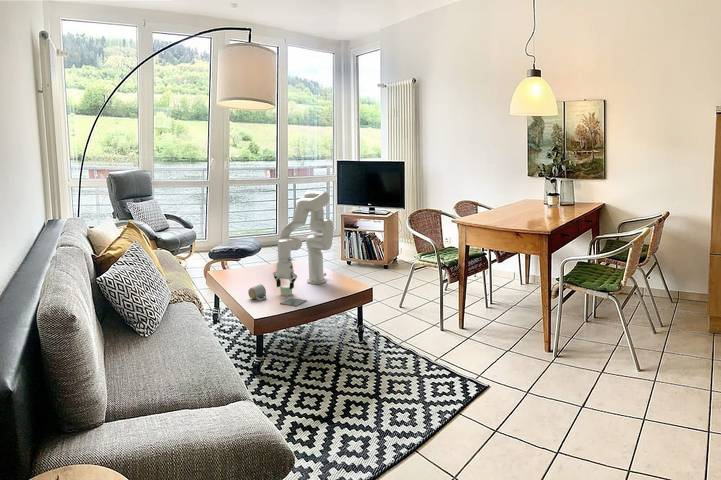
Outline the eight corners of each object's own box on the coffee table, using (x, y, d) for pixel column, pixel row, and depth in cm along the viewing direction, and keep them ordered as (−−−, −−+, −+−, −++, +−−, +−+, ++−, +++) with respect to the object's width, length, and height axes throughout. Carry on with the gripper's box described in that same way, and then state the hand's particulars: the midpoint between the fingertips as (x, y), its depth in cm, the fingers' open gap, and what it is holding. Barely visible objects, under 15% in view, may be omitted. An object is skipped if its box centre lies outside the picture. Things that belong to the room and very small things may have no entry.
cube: (285, 292, 291) (285, 285, 290) (292, 293, 289) (291, 286, 288) (280, 295, 287) (280, 287, 286) (287, 296, 285) (287, 288, 284)
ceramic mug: (247, 298, 281) (246, 286, 280) (258, 295, 287) (258, 283, 286) (258, 302, 274) (257, 289, 273) (269, 298, 280) (269, 286, 279)
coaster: (291, 298, 280) (291, 297, 280) (306, 300, 275) (306, 300, 275) (280, 303, 270) (280, 303, 270) (296, 306, 265) (296, 305, 265)
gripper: (300, 260, 283) (300, 287, 286) (276, 257, 291) (277, 284, 294) (292, 262, 276) (293, 290, 279) (269, 259, 284) (269, 287, 287)
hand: (285, 287), depth 286 cm, fingers open, 9 cm apart
